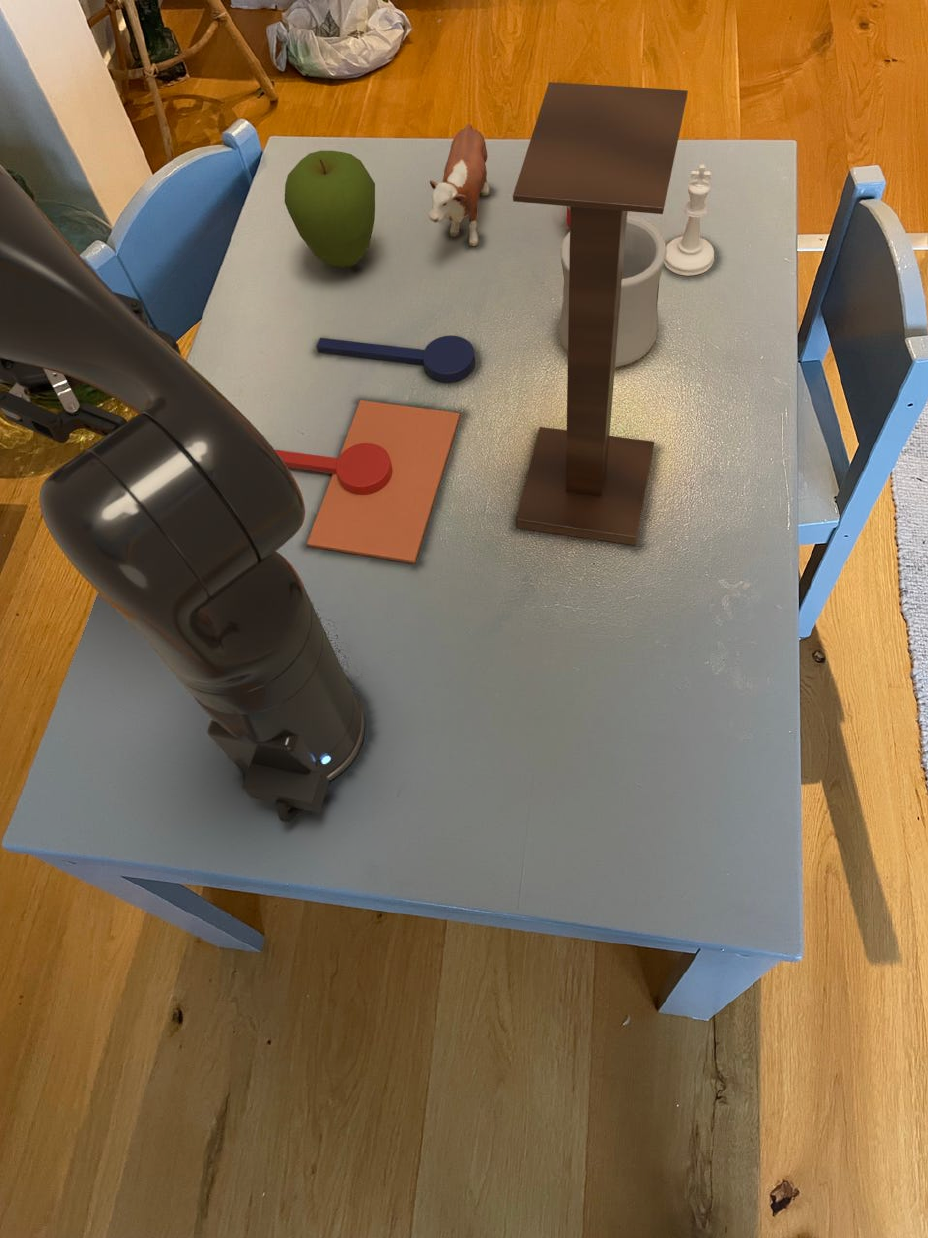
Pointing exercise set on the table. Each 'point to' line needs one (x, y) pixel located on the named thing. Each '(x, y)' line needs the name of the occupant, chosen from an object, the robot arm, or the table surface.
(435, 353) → the navy spoon
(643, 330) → the mug
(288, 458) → the red spoon
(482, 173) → the bull figurine
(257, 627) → the robot arm
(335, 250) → the apple
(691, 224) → the chess piece
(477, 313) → the table surface
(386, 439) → the terracotta mat
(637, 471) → the spoon stand
